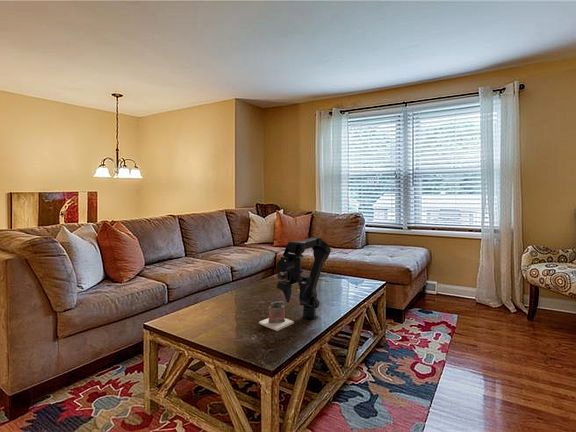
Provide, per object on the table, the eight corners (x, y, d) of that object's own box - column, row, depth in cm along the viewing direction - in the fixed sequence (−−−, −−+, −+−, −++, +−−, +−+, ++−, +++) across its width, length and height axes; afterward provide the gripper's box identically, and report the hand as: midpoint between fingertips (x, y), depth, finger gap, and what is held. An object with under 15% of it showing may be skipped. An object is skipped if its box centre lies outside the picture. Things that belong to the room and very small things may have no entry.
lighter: (269, 323, 166) (269, 303, 165) (268, 320, 169) (268, 301, 168) (285, 322, 168) (285, 302, 167) (284, 319, 171) (284, 299, 170)
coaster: (276, 316, 177) (276, 315, 177) (293, 323, 169) (293, 321, 169) (259, 323, 168) (259, 321, 168) (276, 331, 160) (276, 328, 160)
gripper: (295, 261, 175) (295, 291, 177) (268, 268, 162) (268, 300, 164) (312, 265, 168) (312, 296, 169) (285, 272, 154) (285, 306, 156)
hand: (294, 300), depth 165 cm, fingers open, 9 cm apart
